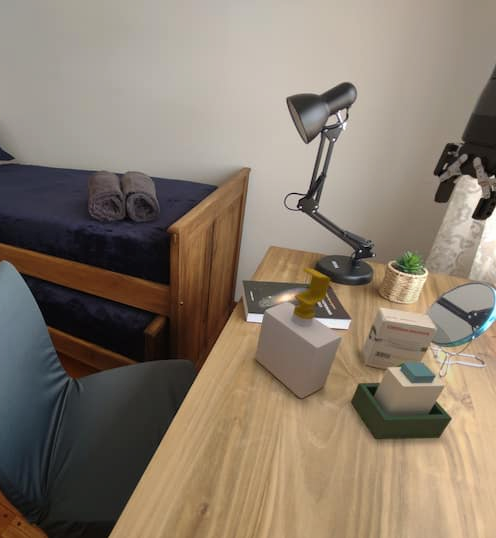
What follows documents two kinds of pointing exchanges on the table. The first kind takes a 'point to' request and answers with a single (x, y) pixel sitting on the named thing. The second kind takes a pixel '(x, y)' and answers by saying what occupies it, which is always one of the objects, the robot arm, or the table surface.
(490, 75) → the robot arm
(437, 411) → the holder
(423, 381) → the beige teal-capped bottle
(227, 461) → the table surface
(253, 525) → the table surface
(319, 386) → the soap bottle
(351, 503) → the table surface
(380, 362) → the ink box
